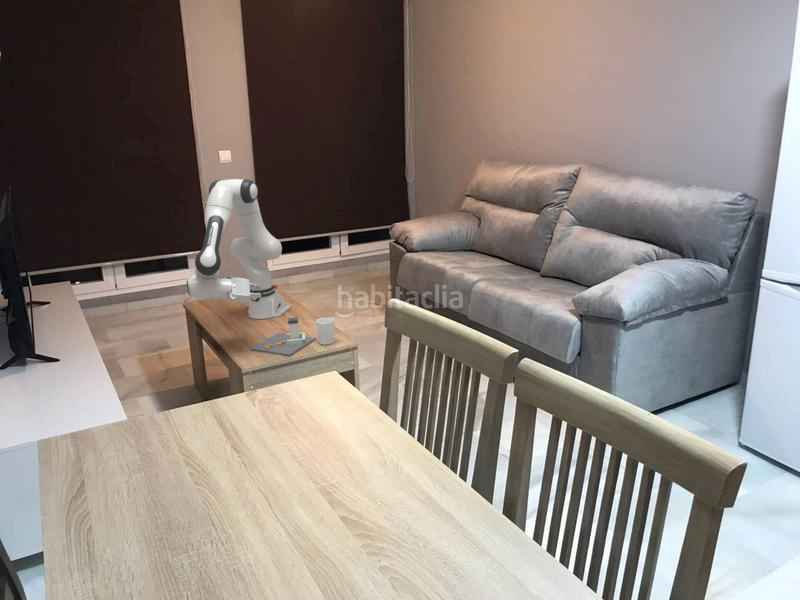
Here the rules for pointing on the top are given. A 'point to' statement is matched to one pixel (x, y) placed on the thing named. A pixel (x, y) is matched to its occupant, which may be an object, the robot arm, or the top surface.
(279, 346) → the board
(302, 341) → the end holder
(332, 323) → the white cup
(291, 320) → the beige container
